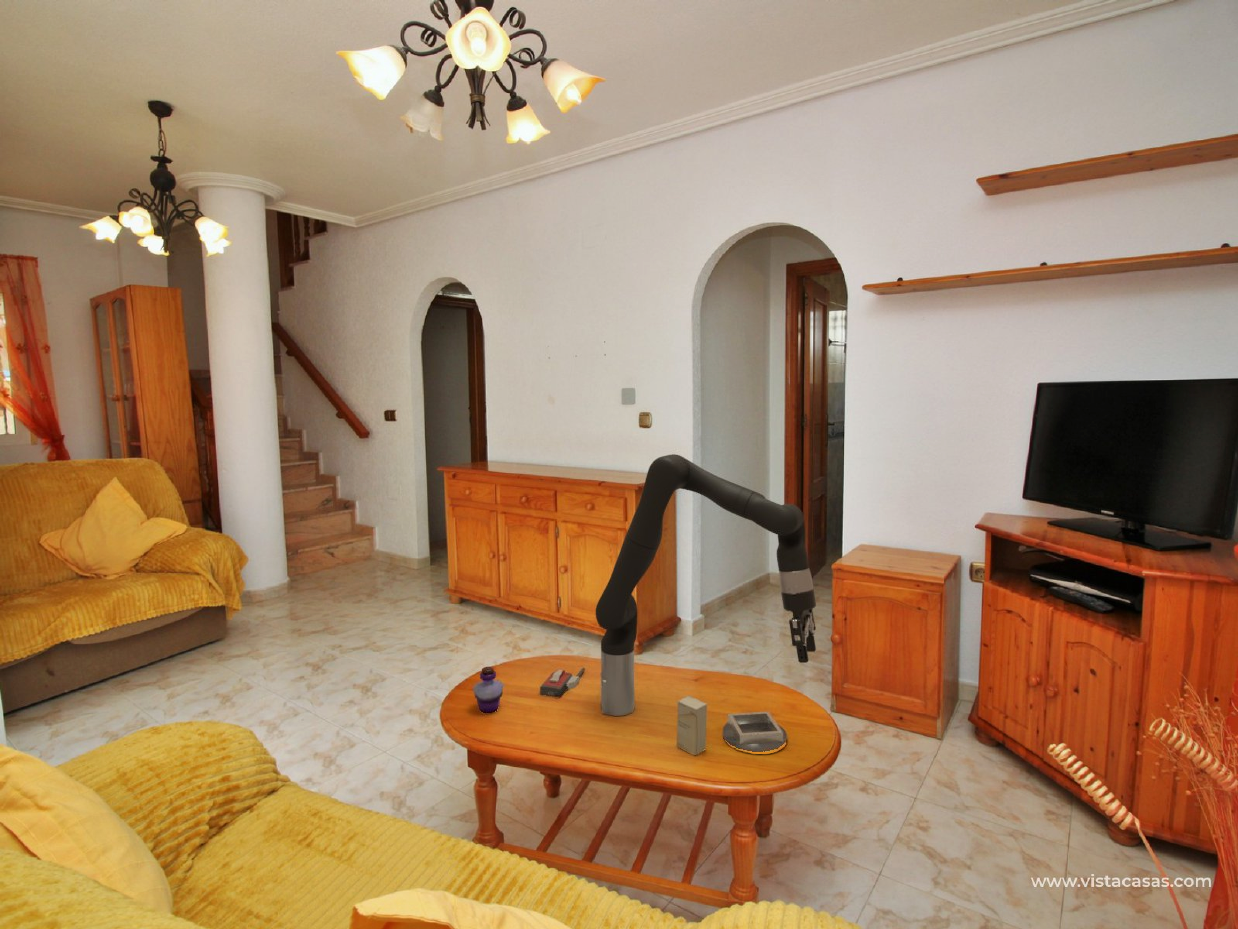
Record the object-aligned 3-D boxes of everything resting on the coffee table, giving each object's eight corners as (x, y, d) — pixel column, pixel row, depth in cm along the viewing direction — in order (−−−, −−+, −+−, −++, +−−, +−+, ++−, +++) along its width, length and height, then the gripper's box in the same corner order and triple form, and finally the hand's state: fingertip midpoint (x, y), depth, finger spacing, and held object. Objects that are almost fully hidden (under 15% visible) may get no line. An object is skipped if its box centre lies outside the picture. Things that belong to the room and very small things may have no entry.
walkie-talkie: (565, 701, 190) (587, 673, 209) (565, 686, 190) (587, 659, 209) (537, 698, 193) (561, 670, 212) (537, 683, 192) (561, 657, 211)
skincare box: (676, 747, 164) (676, 700, 163) (687, 740, 168) (687, 695, 166) (696, 757, 160) (696, 709, 159) (707, 750, 163) (707, 703, 162)
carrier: (732, 757, 160) (732, 741, 159) (716, 724, 176) (716, 710, 175) (796, 752, 161) (796, 737, 161) (774, 720, 177) (774, 706, 177)
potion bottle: (510, 706, 187) (509, 665, 186) (491, 719, 179) (490, 677, 178) (486, 700, 191) (485, 660, 190) (466, 712, 183) (465, 671, 182)
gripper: (788, 583, 164) (798, 648, 164) (773, 595, 152) (784, 666, 151) (818, 581, 161) (829, 647, 160) (806, 594, 148) (817, 666, 148)
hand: (807, 656), depth 156 cm, fingers open, 8 cm apart
